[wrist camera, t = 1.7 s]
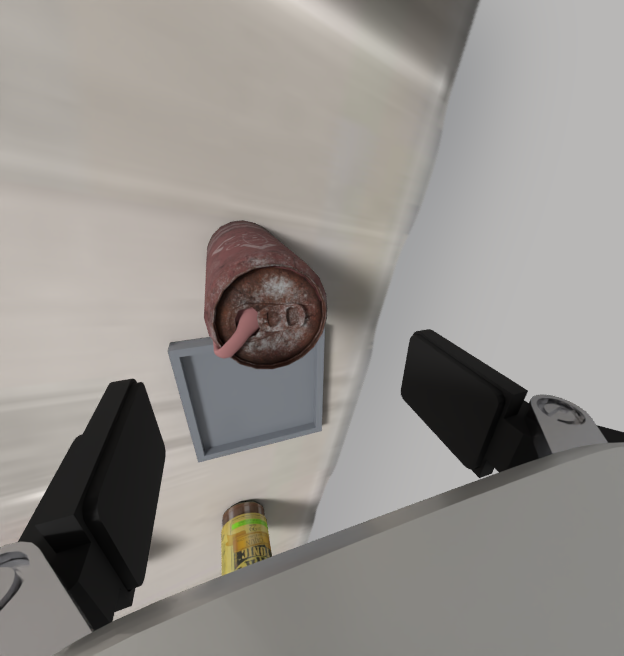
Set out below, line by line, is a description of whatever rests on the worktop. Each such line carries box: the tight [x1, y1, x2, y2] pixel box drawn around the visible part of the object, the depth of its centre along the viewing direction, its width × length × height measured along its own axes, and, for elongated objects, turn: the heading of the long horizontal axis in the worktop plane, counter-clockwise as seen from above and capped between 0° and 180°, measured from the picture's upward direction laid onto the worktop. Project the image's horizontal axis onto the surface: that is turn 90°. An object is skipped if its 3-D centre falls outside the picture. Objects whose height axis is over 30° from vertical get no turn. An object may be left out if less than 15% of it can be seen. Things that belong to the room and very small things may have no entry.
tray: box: [168, 328, 325, 462], centre depth 31 cm, size 15×15×2 cm
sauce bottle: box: [221, 501, 272, 576], centre depth 32 cm, size 6×6×20 cm
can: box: [204, 221, 327, 369], centre depth 19 cm, size 6×6×14 cm
